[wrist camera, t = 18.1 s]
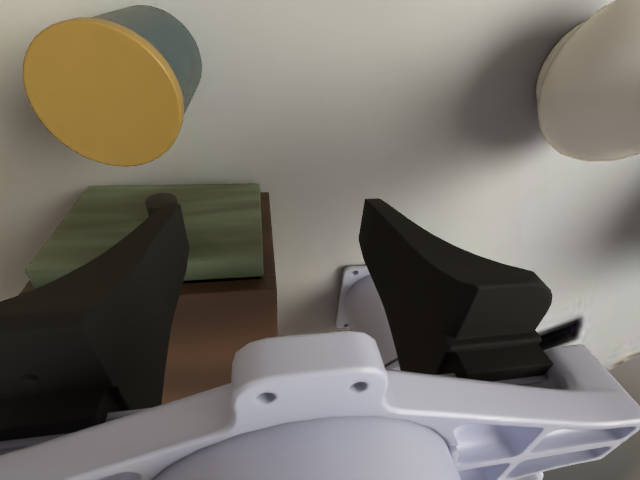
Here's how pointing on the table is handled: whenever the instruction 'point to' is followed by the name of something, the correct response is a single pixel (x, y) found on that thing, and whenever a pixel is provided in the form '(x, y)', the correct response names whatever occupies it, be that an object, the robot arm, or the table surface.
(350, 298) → the robot arm
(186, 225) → the drawer
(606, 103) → the flower vase
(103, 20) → the tin
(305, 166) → the table surface
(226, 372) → the cabinet
